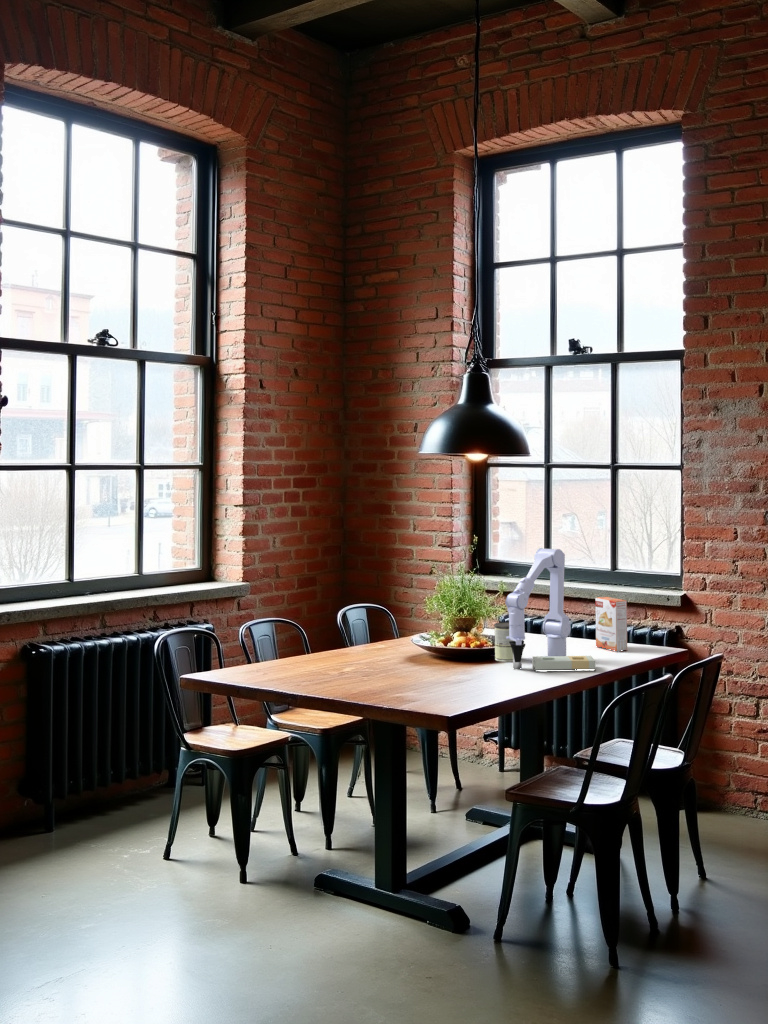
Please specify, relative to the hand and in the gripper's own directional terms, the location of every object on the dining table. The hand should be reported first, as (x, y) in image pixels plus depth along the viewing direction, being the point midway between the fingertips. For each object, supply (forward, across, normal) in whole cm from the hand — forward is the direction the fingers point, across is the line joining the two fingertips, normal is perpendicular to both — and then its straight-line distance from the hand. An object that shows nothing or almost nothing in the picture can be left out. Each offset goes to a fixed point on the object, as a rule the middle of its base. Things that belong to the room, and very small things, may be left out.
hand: (517, 661), depth 407 cm
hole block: (+3, +2, +17) cm, 17 cm away
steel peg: (+3, 0, 0) cm, 3 cm away
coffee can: (+3, -19, -2) cm, 19 cm away
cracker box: (+3, -39, +42) cm, 57 cm away
